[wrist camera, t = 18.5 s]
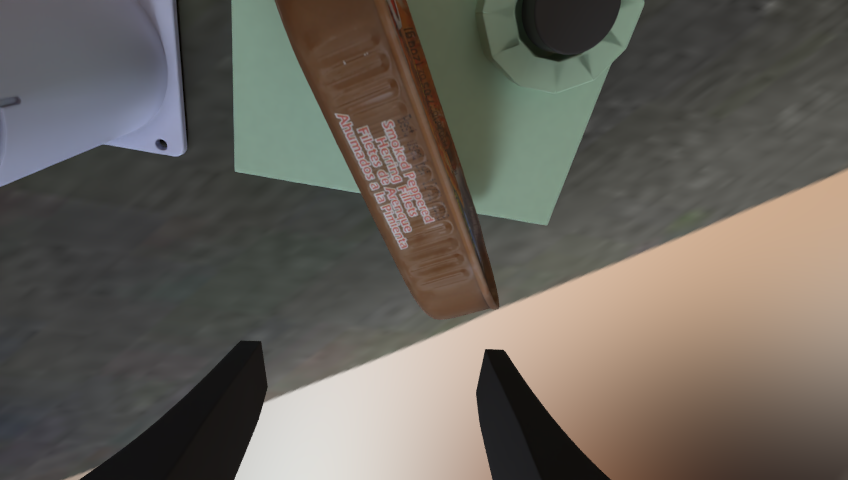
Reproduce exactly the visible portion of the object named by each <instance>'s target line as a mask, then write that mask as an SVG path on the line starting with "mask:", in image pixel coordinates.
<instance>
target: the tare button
mask: <svg viewBox="0 0 848 480" xmlns="http://www.w3.org/2000/svg"><path fill="white" fill-rule="evenodd" d="M620 5H621V0H523V3H522V23H523V27H524V30H525V32H526V34H527V36H528V38H529V39H530V40H531V42H532V43H533V44H534V45H536V46H537V47H539V48H541V49H543V50H546V51H549V52H554V53H558V54H563V55H575V54H580V53H583V52H585V51H588V50H590V49H591V48H593V47H594V46H596V45H597V44H598V43H600V42H601V41H602V40H603V39H604V38H605V36H606V35H607V34H608V33H609V31H610V30H611V28H612V27H613V25H614V23H615V21H616V19H617V16H618V13H619V10H620Z"/></svg>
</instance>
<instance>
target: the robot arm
mask: <svg viewBox="0 0 848 480" xmlns="http://www.w3.org/2000/svg"><path fill="white" fill-rule="evenodd" d="M160 139H162V140H164V141H165V142H166V143H167V148H166V147H163V146H162V145H161V143H160ZM102 144H106V145H112V146H117V147H123V148H129V149H135V150H140V151H146V152H152V153H158V154H163V155H169V156H180V155H182V154H184V153H185V152H186V150H187V137H186V124H185V111H184V98H183V84H182V71H181V58H180V45H179V32H178V18H177V5H176V0H0V187H1V186H3V185H6V184H8V183H10V182H13V181H15V180H18V179H20V178H22V177H25V176H27V175H30V174H32V173H34V172H37V171H39V170H42V169H44V168H46V167H49V166H51V165H54V164H56V163H58V162H61V161H63V160H66V159H68V158H70V157H73V156H75V155H78V154H80V153H82V152H85V151H87V150H90V149H92V148H94V147H97V146H99V145H102ZM267 387H268V386H267V379H266V372H265V366H264V359H263V352H262V345H261V341H240V342H239V343H238V344H237V345H236V346H235V347H234V348H233V349H232V350H231V351H230V352H229V353H228V354H227V355H226V356H225V357H224V358H223V359H222V360H221V361H220V362H219V363H218V364H217V365H216V366H215V367H214V368H213V370H212V371H211V372H210V373H209V374H208V375H207V376H206V377H204V378H203V379H202V380H201V381H200V382H199V383H198V384H197V385H196V386H195V387H194V388H193V389H192V390H191V391H190V392H189V393H188V394H187V395H186V396H185V397H184V398H183V399H181V400H180V401H179V402H178V403H177V404H176V405H175V406H174V407H173V408H171V409H170V410H169V411H168V412H167V413H166V414H165V415H164V416H162V417H161V418H160V419H159V420H158V421H157V422H155V423H154V424H153V425H152V426H151V427H149V428H148V429H147V430H146V431H145V432H143V433H142V434H141V435H140V436H138V437H137V438H136V439H135V440H133V441H132V442H131V443H129V444H128V445H127V446H126V447H124V448H123V449H122V450H120V451H119V452H118V453H116V454H115V455H114V456H112V457H111V458H109V459H108V460H107V461H105V462H104V463H102V464H101V465H100V466H98V467H97V468H95V469H94V470H92V471H91V472H90V473H88V474H87V475H85V476H84V477H83V478H81V479H80V480H234V479H235V476H236V474H237V471H238V469H239V466H240V464H241V462H242V459H243V457H244V454H245V452H246V449H247V447H248V445H249V442H250V440H251V437H252V435H253V432H254V430H255V427H256V425H257V422H258V420H259V416H260V413H261V409H262V406H263V402H264V399H265V395H266V391H267ZM476 396H477V405H478V414H479V422H480V427H481V432H482V436H483V440H484V445H485V449H486V453H487V457H488V462H489V466H490V470H491V475H492V479H493V480H610V478H608V477H607V476H606V475H605V474H604V473H603V472H602V471H601V470H600V469H599V468H598V467H597V466H596V465H595V464H594V463H593V462H592V461H591V460H590V459H589V458H588V457H587V456H586V455H585V454H584V453H583V452H582V451H581V450H580V449H579V448H578V447H577V446H576V445H575V443H574V442H573V441H572V440H571V439H570V438H569V437H568V436H567V434H566V433H565V432H564V431H563V430H562V429H561V427H560V426H559V425H558V424H557V423H556V421H555V420H554V419H553V418H552V417H551V415H550V414H549V413H548V411H547V410H546V409H545V408H544V406H543V405H542V404H541V402H540V401H539V400H538V398H537V397H536V396H535V394H534V393H533V392H532V390H531V389H530V388H529V386H528V385H527V383H526V382H525V380H524V379H523V378H522V376H521V375H520V373H519V372H518V370H517V369H516V367H515V366H514V364H513V363H512V361H511V360H510V358H509V357H508V355H507V354H506V352H505V351H504V350H493V349H486V350H485V353H484V358H483V363H482V367H481V372H480V376H479V381H478V386H477V390H476Z"/></svg>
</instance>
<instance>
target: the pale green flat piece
mask: <svg viewBox="0 0 848 480" xmlns="http://www.w3.org/2000/svg"><path fill="white" fill-rule="evenodd" d="M406 1H407V4H408V7H409V10H410V13H411V16H412V19H413V22H414V25H415V28H416V31H417V34H418V37H419V39H420V42H421V45H422V48H423V51H424V54H425V57H426V60H427V64H428V67H429V70H430V73H431V76H432V79H433V82H434V85H435V88H436V91H437V94H438V97H439V100H440V103H441V106H442V109H443V112H444V115H445V118H446V121H447V124H448V127H449V130H450V133H451V136H452V139H453V142H454V145H455V148H456V151H457V155H458V157H459V160H460V163H461V166H462V169H463V172H464V176H465V179H466V182H467V186H468V188H469V191H470V194H471V197H472V200H473V203H474V206H475V209H476V212H477V213H478V214H484V215H490V216H495V217H501V218H507V219H513V220H519V221H524V222H530V223H536V224H542V225H548V222H549V220H550V217H551V215H552V212H553V209H554V207H555V204H556V202H557V199H558V197H559V194H560V192H561V189H562V187H563V184H564V182H565V179H566V177H567V174H568V172H569V169H570V167H571V164H572V161H573V159H574V156H575V154H576V151H577V149H578V146H579V144H580V141H581V139H582V136H583V134H584V131H585V129H586V126H587V124H588V121H589V119H590V116H591V114H592V111H593V108H594V106H595V103H596V101H597V98H598V96H599V93H600V91H601V88H602V86H603V83H604V81H605V78H606V76H607V73H608V71H609V68H610V66H611V63H612V62H613V61H614V60H615V59H616V58H617V57H618V56H619V55H620V54H621V53H622V52H623V51H624V50H625V49H626V48H627V46H628V43H629V41H630V38H631V36H632V33H633V31H634V28H635V26H636V24H637V21H638V19H639V16H640V14H641V11H642V9H643V6H644V0H621V5H620V10H619V13H618V16H617V19H616V21H615V23H614V25H613V27H612V28H611V30H610V31H609V33H608V34H607V35H606V36H605V38H604V39H603V40H602V41H601V42H600V43H598V44H597V45H596V46H594V47H593V48H591V49H590V50H588V51H585V52H583V53H580V54H575V55H563V54H558V53H554V52H549V51H546V50H543V49H541V48H539V47H537V46H536V45H534V44H533V43H532V42H531V40H530V39H529V38H528V36H527V34H526V32H525V30H524V27H523V23H522V3H523V0H406ZM231 3H232V56H233V108H234V160H235V171H236V172H240V173H246V174H252V175H258V176H264V177H269V178H275V179H281V180H287V181H293V182H298V183H304V184H310V185H316V186H321V187H327V188H333V189H339V190H345V191H350V192H356V193H361V192H360V190H359V188H358V186H357V184H356V182H355V180H354V178H353V176H352V174H351V172H350V170H349V168H348V166H347V164H346V162H345V159H344V157H343V155H342V153H341V151H340V149H339V147H338V145H337V143H336V141H335V139H334V137H333V135H332V132H331V130H330V128H329V126H328V124H327V122H326V120H325V118H324V116H323V113H322V111H321V109H320V107H319V105H318V103H317V101H316V99H315V97H314V94H313V92H312V90H311V88H310V86H309V84H308V82H307V80H306V78H305V76H304V73H303V71H302V69H301V67H300V65H299V62H298V60H297V58H296V56H295V53H294V51H293V49H292V46H291V44H290V41H289V39H288V36H287V33H286V31H285V28H284V26H283V23H282V20H281V18H280V15H279V12H278V9H277V6H276V3H275V0H231Z"/></svg>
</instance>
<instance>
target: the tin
mask: <svg viewBox="0 0 848 480" xmlns="http://www.w3.org/2000/svg"><path fill="white" fill-rule="evenodd" d="M275 3H276V6H277V9H278V12H279V15H280V18H281V20H282V23H283V26H284V28H285V31H286V33H287V36H288V39H289V41H290V44H291V46H292V49H293V51H294V53H295V56H296V58H297V60H298V62H299V65H300V67H301V69H302V71H303V73H304V76H305V78H306V80H307V82H308V84H309V86H310V88H311V90H312V92H313V94H314V97H315V99H316V101H317V103H318V105H319V107H320V109H321V111H322V113H323V116H324V118H325V120H326V122H327V124H328V126H329V128H330V130H331V132H332V135H333V137H334V139H335V141H336V143H337V145H338V147H339V149H340V151H341V153H342V155H343V157H344V159H345V162H346V164H347V166H348V168H349V170H350V172H351V174H352V176H353V178H354V180H355V182H356V184H357V186H358V188H359V190H360V192H361V194H362V196H363V198H364V200H365V202H366V204H367V207H368V209H369V211H370V213H371V215H372V217H373V219H374V221H375V223H376V225H377V227H378V229H379V231H380V233H381V235H382V237H383V239H384V241H385V243H386V245H387V247H388V250H389V251H390V253H391V255H392V257H393V259H394V261H395V263H396V265H397V267H398V269H399V271H400V273H401V275H402V277H403V279H404V281H405V283H406V285H407V287H408V289H409V290H410V292H411V294H412V296H413V297H414V299H415V300H416V302H417V303H418V305H419V306H420V307H421V308H422V310H423V311H424V312H425V313H426V314H427V315H429V316H430V317H432V318H434V319H438V320H442V319H450V318H455V317H459V316H462V315H466V314H470V313H474V312H477V311H481V310H485V309H489V308H490V309H493V310H496V309H499V299H498V294H497V289H496V284H495V280H494V276H493V272H492V268H491V265H490V261H489V257H488V254H487V250H486V247H485V243H484V239H483V235H482V231H481V227H480V223H479V219H478V216H477V212H476V209H475V206H474V203H473V200H472V197H471V194H470V191H469V188H468V186H467V182H466V179H465V176H464V172H463V169H462V166H461V163H460V160H459V157H458V155H457V151H456V148H455V145H454V142H453V139H452V136H451V133H450V130H449V127H448V124H447V121H446V118H445V115H444V112H443V109H442V106H441V103H440V100H439V97H438V94H437V91H436V88H435V85H434V82H433V79H432V76H431V73H430V70H429V67H428V64H427V60H426V57H425V54H424V51H423V48H422V45H421V42H420V39H419V37H418V34H417V31H416V28H415V25H414V22H413V19H412V16H411V13H410V10H409V7H408V4H407V1H406V0H275Z"/></svg>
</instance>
